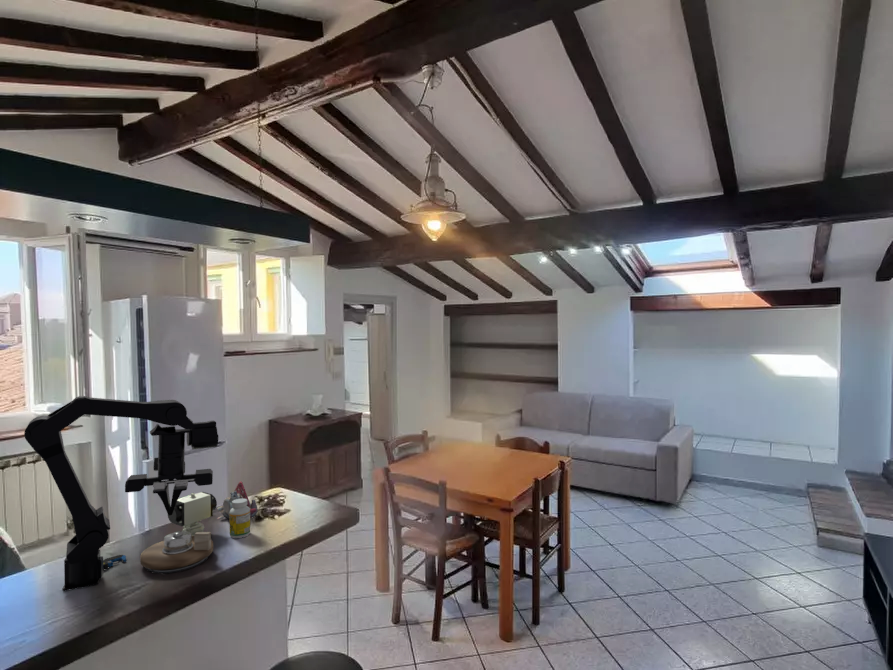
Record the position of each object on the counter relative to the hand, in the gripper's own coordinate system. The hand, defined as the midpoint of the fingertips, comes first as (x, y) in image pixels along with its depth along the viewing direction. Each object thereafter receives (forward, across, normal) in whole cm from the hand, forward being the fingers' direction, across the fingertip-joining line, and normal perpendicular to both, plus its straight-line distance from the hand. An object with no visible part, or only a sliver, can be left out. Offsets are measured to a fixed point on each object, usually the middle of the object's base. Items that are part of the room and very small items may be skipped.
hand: (170, 514), depth 126 cm
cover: (+9, -2, 0) cm, 9 cm away
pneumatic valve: (+12, -4, -15) cm, 20 cm away
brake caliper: (+11, -17, -25) cm, 32 cm away
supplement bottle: (+11, -17, -11) cm, 23 cm away
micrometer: (+13, +15, -4) cm, 20 cm away
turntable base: (+12, -2, 0) cm, 12 cm away
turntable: (+10, -2, 0) cm, 10 cm away
